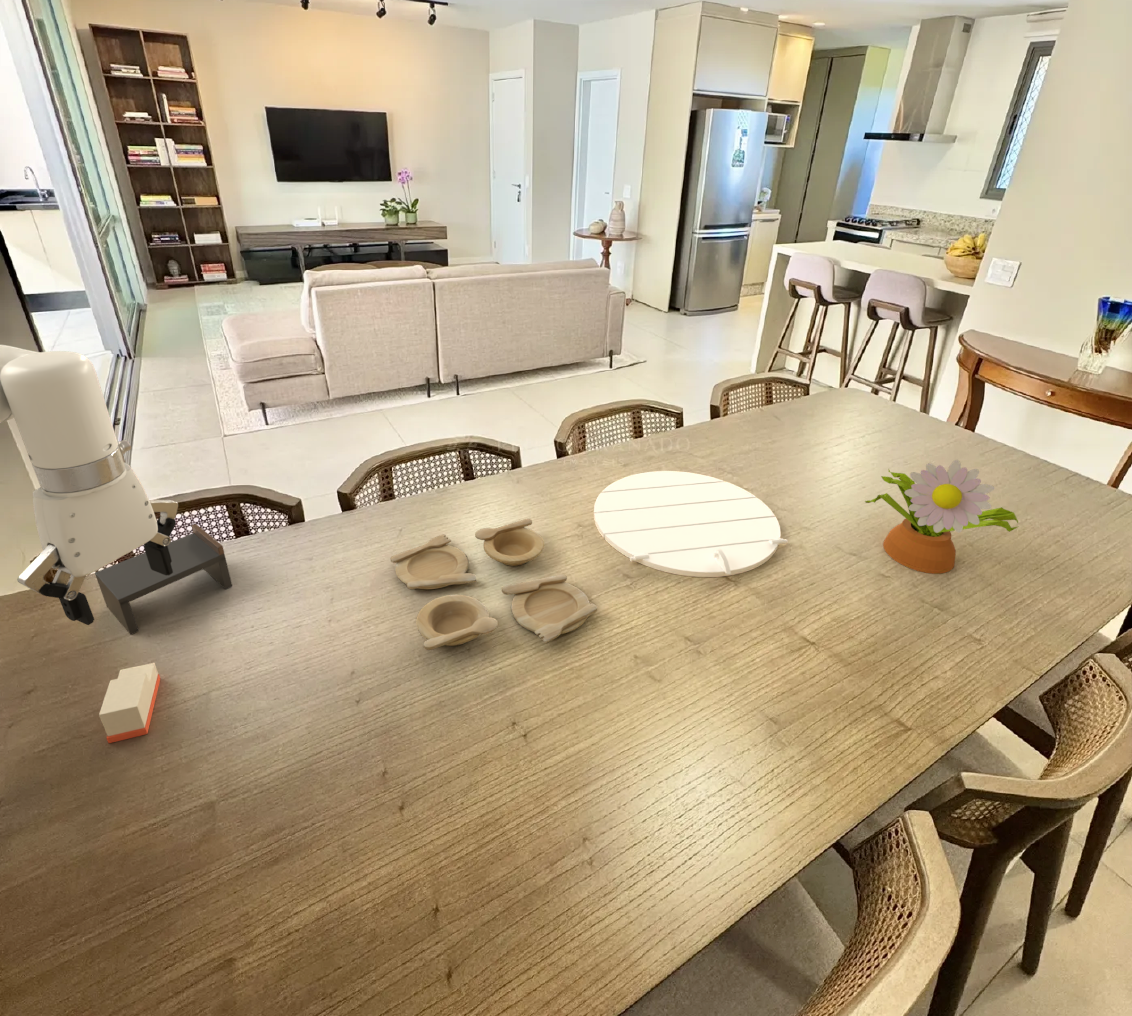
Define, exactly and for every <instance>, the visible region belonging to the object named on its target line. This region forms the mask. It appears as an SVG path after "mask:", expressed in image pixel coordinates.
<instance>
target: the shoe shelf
mask: <svg viewBox="0 0 1132 1016" xmlns="http://www.w3.org/2000/svg"><path fill="white" fill-rule="evenodd" d="M191 529H192V533H190V534H187V535H185V536H182V537H180V538H177V539H175V540H171V542H170V543H169V545H167V546H168V550H169V553H170V556H171V560H172V562H171V567H172V570H173V573H172V574H170V575H169V576H168V575H167V576H166V575H164V574H161V573H158V572H156V571H153V570H152V569H151V568H150V565H149V562H148V559H147V555H146V552H145V551H144V552H143V553H140V554H138V555H135V556H133V557H129V558H128V559H125V560H122V561H120V562H117V563H115V564H113V565H110V566H108V567H105V568H103V569H99V570H97V571H95V572H94V576H95V578H96V581H97V585H98V587H99V590H100V592H101V595H102V597H103V600H104V603H105V606H106V608H107V609H108V610H109V611H110V612H111V613H112V615H113V616H114V617H115V618H116V619H117V621H118V622H119V623H120V624H121V625H122V626H123V628H124V629H125V630H126V631H127V632H128V634H129V635H130V636H131V635H133V634H136V633H137V632H139V627H138V624H137V621H136V619H135V616H134V612H133V610H132V607H131V604H130V602H132V601H135V600H137V599H139V598H141V597H144V596H147V595H148V594H150V593H152V592H155V591H157V590H160V589H162V588H164V587H166V586H169V585H171V584H173V583H176V582H178V581H180V580H181V579H185V578H186V577H189V576H191V575H193V574H196V573H198V572H201V571H202V570H203V571H205V572H206V573H207V575H209V576H210V577H211V578H212V579H213V580H215V581H216V582H217V583H218V584H219V585H220V587H223V589H224V590H227V589H230V588H231V587H233V583H232V579H231V574H230V571H229V567H228V562H227V559H226V555H225V549H224V546H223V545H222V544H221V543H220V542H219V541H217V539H215V538H214V537H213V536H211V535H210V534H209V533H208V532H207V531H205V530H204V529H203V527H201V526H199V525H198V524H197V523H194V524H191Z"/></svg>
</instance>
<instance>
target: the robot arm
mask: <svg viewBox="0 0 1132 1016" xmlns="http://www.w3.org/2000/svg"><path fill="white" fill-rule="evenodd" d="M12 419H14V422H15V425H16V427H17V429H18V432H19V434H20V438H21V440H22V442H23V445H24V447H25V450H26V453H27V455H28V458H29V461H30V463H31V466H32V468H33V471H34V474H35V476H36V479H37V481H38V484H39V486H40V487H38V488H36V489H34V490H33V491H32V505H33V514H34V520H35V526H36V530H37V534H38V538H39V542H40V546H41V548H42V551H41V552H40V554H38V556H36V558H35V559H33V561H32V562H31V563H29V565H28V566H27V567H26V568H25V569H24V570H23V571H22V573H20V574H19V576H18V577H17V579H16V580H17V583H19V584H20V585H22V586H24V587H26V588H28V589H29V590H32V591H33V592H35V593H38V594H40V595H41V596H45V597H50V598H54V599H55V598H57V599H58V600H59V602H60V605H61V607H62V610H63V612H64V615H65V616H66V618H67V619H68V620H70V621H72V622H76V621H78V622H79V623H82V624H83V625H86V626H90V625H92V624H93V623H94V621H95V617H94V615H93V612H92V609H91V606H90V603H89V601H88V599H87V596H86V595H85V593H83V592H80V590H81V589H82V586H83V584H84V581H85V579H86V576H88V575H91V574H92V573H95V572H97V571H99V570H101V569H102V568H104V567H106V566H107V565H109V564H111V563H113V562H115V561H116V560H119V559H120V558H122V557H124V556H125V555H128V554H129V553H131V552H132V551H134V550H136V549H138V548H140V547H142V546H143V549H144V553H145V552H146V555H147V559H148V562H149V565H150V568H151V569H152V570H153V571H156V572H158V573H161V574H164V575H166V576H167V575H168V576H169V575H170V574H172V573H173V570H172V567H171V562H172V560H171V556H170V553H169V550H168V546H167V545H169V543H170V542H172V539H171V537H170V536H171V534H172V532H173V530H174V528H175V526H176V525H177V522H176V517H177V515H178V514H177V513H178V508H179V503H178V502H177V501H174V500H171V499H149V496H148V494H147V492H146V489H145V488H144V486H143V484H142V483H141V481H140V479H139V477H138V476H137V473H136V472H135V471H134V469H133V468H132V466H131V464H129V463H127V462H126V460H125V457H124V455H125V454H126V453H127V452H129V451H131V450H132V446H131V443H130V442H129V441H128V440H127V439H123V440H120V441H119V440H118V439H117V435H116V431H115V429H114V426H113V422H112V419H111V416H110V413H109V410H108V406H107V403H106V400H105V396H104V393H103V390H102V387H101V383H100V380H99V377H98V374H97V371H96V368H95V366H94V364H93V362H92V361H91V360H90V359H89V358H88V357H87V356H85V355H84V354H81V353H79V352H76V351H70V350H69V351H67V350H52V351H49V350H48V351H41V352H40V351H34V350H29V349H25V348H20V347H16V346H12V345H6V344H0V424H2V423H5V422H8V421H10V420H12ZM155 513H160V514H159V516H160V517H158V519H157V517H156V514H155ZM51 569H54V570H56V569H57V571H56V573H55V575H54V578H53V580H52V581H46V580H45V579H44V577H45V575H46V574H47V573H48V572H49V571H50V570H51Z"/></svg>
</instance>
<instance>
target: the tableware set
mask: <svg viewBox="0 0 1132 1016" xmlns="http://www.w3.org/2000/svg"><path fill="white" fill-rule="evenodd" d="M532 524H533V520H532V519H531V518H524V519H521V520H518V521H515V522H512V523H508V524H504V525H503V526H500V527H495V528H494V527H483V528H480V529H478V530H476V532H475V533H474V537H475V539H477V540H481V541H483V550H484V552H485V554H486V555H487V557H489V558H490V559H492V560H494V561H495V562H499V563H501V564H503V565H506V566H510V567H516V566H517V567H518V566H522V565H524V564H526V563H527V562H530V561H533V560H535V559H537V558H538V557H540V555H541V554H542V553H543V551H544V548H545V541H544V539H543V537H542V536H541V535H540V534H539V533H538V532H537V531H534V530H532V529H530V528H527V527H529V526H531V525H532ZM451 542H452V539H450V538H449V537H448V536H446V534H444V533H442V534H440V535H437V536H435V537H432V538H430V540H429V541H428V542H427V543H425V544H423V545H419V546H417V547H414V548H412V549H411V548H410V549H408V550H405V551H402V552H398V553H396V554H394V555H391V557H389V558H390V562H391V563H393V564H395V569H394V570H395V575H396V577H397V579H398V580H400V582H401V583H403V584H405V585H406V588H407V589H408V590H415V589H417V590H418V589H420V590H434V589H435V590H436V589H442V588H445V587H449V586H451V585H463V584H474V583H476V582H477V576H476V574H474V573H472V572H471V573H470V572H468V569H469V565H470V564H469V563H470V562H469V558H468V556H467V555H466V553H465V552H464V551H462V550H461V549H460V548H458V547H456V546H453V545H450V544H449V543H451ZM467 572H468V573H467ZM567 580H568V576H567V575H566V574H557V575H552V576H547V577H542V578H537V579H532V580H527V581H522V582H518V583H512V584H506V585H502V586H500V590H501V592H502V594H504V595H514V596H513V599H512V600H511V607H510V608H511V614H512V616H513V618H514V620H515V621H516V623H518V624H519V626H521V627H522V628H524V629H526V630H527V631H529V632H532V633H534V634H535V635H536V636H538V638H539V639H542V641H543V642H544V643H545V644H547V643H549V642H551V641H553V640H555V639H556V638H559V637H560V635H563V634H566V633H570V632H572V631H575V630H576V629H578V628H579V627H581V626H582V625H583V624H585V622H586V621H587V619H588V617H590V616H591V615H593V614H595V613H596V612H597V611H598V605H596V604H595V603H590V600H589V598H588V596H587V594H586V593H585V592H583V591H582V589H580V588H578V587H577V586H575V585H573V584H570V583H567ZM498 623H499V621H498V620H497V619H496V618H494V617H492V616H490V613H489V610H488V608H487V607H486V605H485V604H484V603H483V602H482V601H480V600H478V599H477V598H475V597H472V596H469V595H464V594H449V595H448V594H447V595H443V596H439V597H436V598H434V599H432V600H430V601H429V602H428V603H426V604H425V605H424V606H422V608H421V609H420V610H419V612H418V614H417V616H416V620H415V624H416V628H417V631H418V632H419V634H420V636H422V637H423V638H424V639H425V641H424V642H423V649H425V650H426V651H432V650H435V649H438V648H440V647H443V646H447V647H456V646H461V645H463V644H465V643H469V642H471V641H473V640H475V639H476V638H478V637H480V635H482V636H483V635H488V634H491V633H493V632H495V630H497V628H498V625H499V624H498Z"/></svg>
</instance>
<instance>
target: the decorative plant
mask: <svg viewBox="0 0 1132 1016" xmlns="http://www.w3.org/2000/svg"><path fill="white" fill-rule="evenodd" d="M961 463H962V462H961V461H960V460H959V459H954V460H953V461H952V462H951V463H950V465H949V466H948V468H947V470H946V468H945V467H944V466H943V465H941V464H939V465H937V466H936V465H934V464H933V463H930V462H928V463H926V465H925V469H921V470H920V473H919V472H916V471H911V472H910V473H909V476H908V475H907V474H906V473H905V472H894V471H893V472H892V471H890V469H888V473H890V474H891V476H892V477H891V476H885V475H881V476H880V477H881V479H882V480H883V482H885V483H887V484H893V485H897V487H898V489H899V491H900V493H901V495H902V497H903V498H904V500H905V501H904V502H906V505H907V509H908V511H907V510H905V508H903V506H901V505H900V503H898V502H897V501H896V500H895V499H894V498H893V497H892V496H891V495H890V494H889V493H888V492H886V493H883V494H877V496H876V497H875V498H873V499H869V500H865V501H864V502H865V504H871V503H875V504H876V502H877V501H879V500H881V499H882V500H883V501H884V502H885V503H887V504H888V505H889V506H890V507H891V508H893V509H894V510H895V511H896V512H897V513H899V514H900V515H901V516H903V517H904V519H903V520H902V522H901V523H899V524H897V525H895V526H893V528H891V529H890V531H889V532H888V534H887V535H886V537H885V538H884V540H883V543H882V547H883V549H884V552H885V553H886V554H887V555H888V556H889V557H890V558H891V559H892V560H894V561H895V562H897V563H899V564H900V565H902V566H903V567H906V568H908V569H911V570H914V571H917V572H921V573H926V574H932V575H938V574H939V575H941V574H946V573H947V572H948V573H949V572H950V571H952V570H953V569H954V568H955V562H956V553H957V551H956V547H955V544H954V541H953V539H952V532H954V531H955V532H957V533H961V532H962V531H963V530H968V529H976V528H982V527H991V526H992V527H993V526H996V527H1001V528H1003V529H1006V531H1007V532H1012V531H1014V530H1015V529H1017V528H1019V527H1020V526H1013V527H1012V526H1011V525H1010V523H1009V522H1008V521H1016V523H1017V524H1019V520H1018V518H1017V515H1016V513H1015V512H1013V511H1011V510H1008V509H1005V508H1004V507H1003V506H1002V507H1001V506H1000V507H997V508H992V504H991V503H990V502H988V501H989V500H990V496H989V495H988V494H990V493H991V492H993V491H994V490H995V489H996V488H995V486H994V485H992V484H987V483H982V479H981V478H978V476H979V474H980V470H979V469H978V468H973V469H971V470H968V468H967V467H965V466H963V467H962V464H961ZM894 478H895V479H894ZM981 483H982V484H981ZM991 508H992V509H991Z"/></svg>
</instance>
